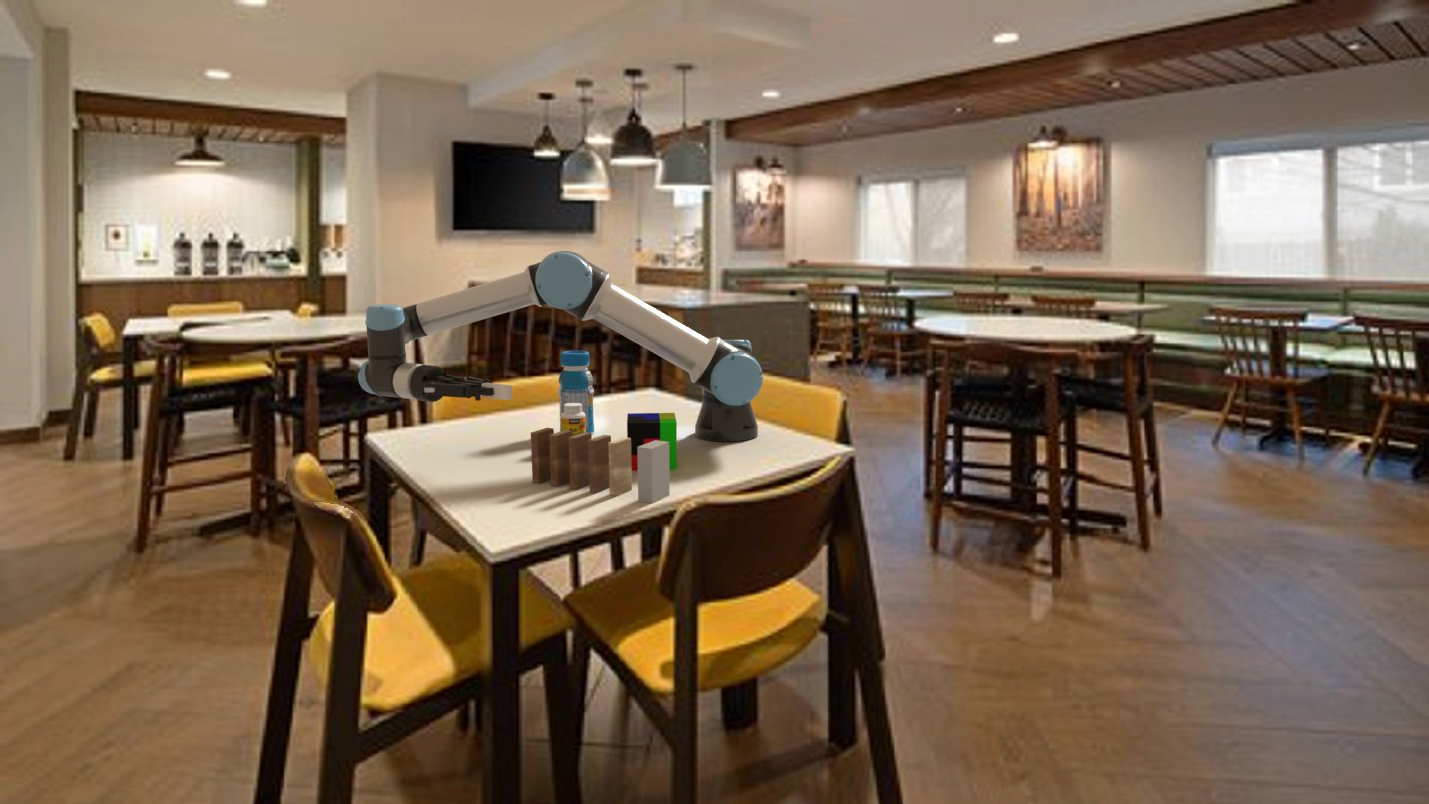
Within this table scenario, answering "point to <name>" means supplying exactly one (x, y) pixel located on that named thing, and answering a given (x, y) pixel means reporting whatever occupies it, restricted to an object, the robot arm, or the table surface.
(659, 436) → the puzzle toy
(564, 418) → the supplement bottle
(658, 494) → the rectangular block
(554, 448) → the domino
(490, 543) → the table surface
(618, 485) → the domino
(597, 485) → the domino
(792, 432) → the table surface
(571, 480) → the domino
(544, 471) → the domino
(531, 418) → the table surface
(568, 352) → the beverage bottle
